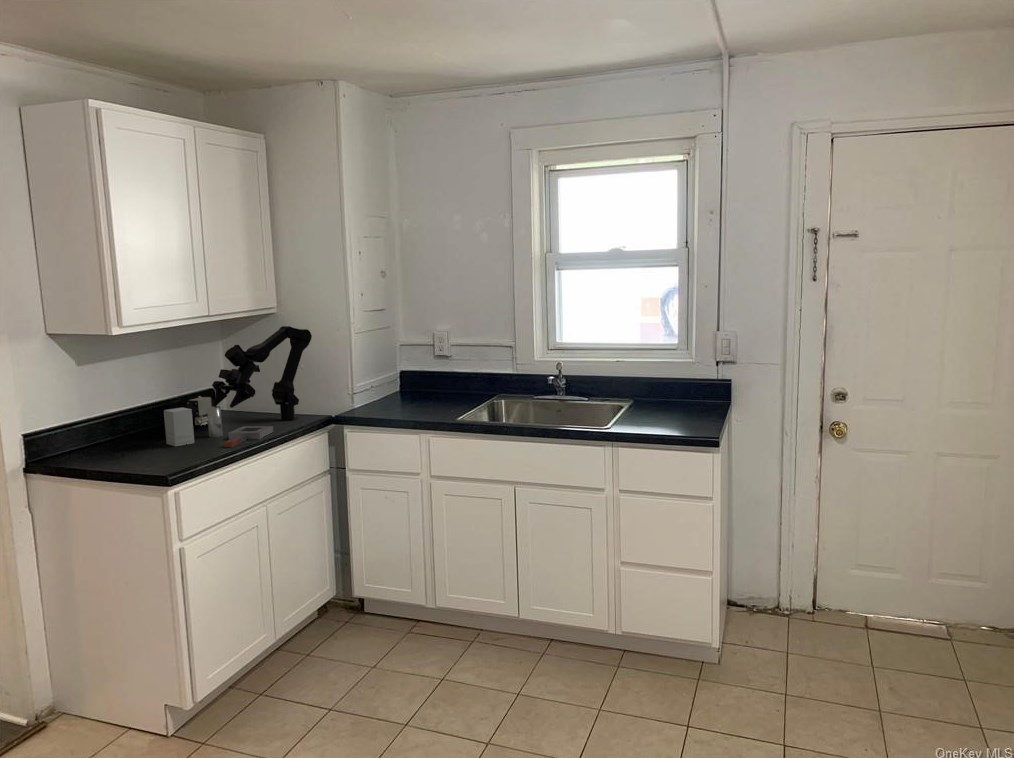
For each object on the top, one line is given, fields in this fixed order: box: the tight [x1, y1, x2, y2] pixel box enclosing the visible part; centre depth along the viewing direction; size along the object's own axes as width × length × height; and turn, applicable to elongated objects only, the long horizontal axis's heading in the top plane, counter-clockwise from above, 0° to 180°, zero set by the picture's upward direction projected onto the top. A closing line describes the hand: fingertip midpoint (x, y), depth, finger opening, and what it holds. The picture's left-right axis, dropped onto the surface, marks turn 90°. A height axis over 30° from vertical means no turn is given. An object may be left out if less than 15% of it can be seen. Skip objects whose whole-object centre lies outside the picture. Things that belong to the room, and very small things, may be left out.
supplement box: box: [163, 407, 195, 447], centre depth 284 cm, size 7×7×13 cm
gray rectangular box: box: [223, 425, 274, 448], centre depth 288 cm, size 25×12×2 cm, turn 174°
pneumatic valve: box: [185, 395, 214, 427], centre depth 318 cm, size 6×12×12 cm, turn 162°
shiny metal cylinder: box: [206, 405, 224, 438], centre depth 296 cm, size 5×5×11 cm
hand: (222, 406), depth 298 cm, fingers open, 9 cm apart
